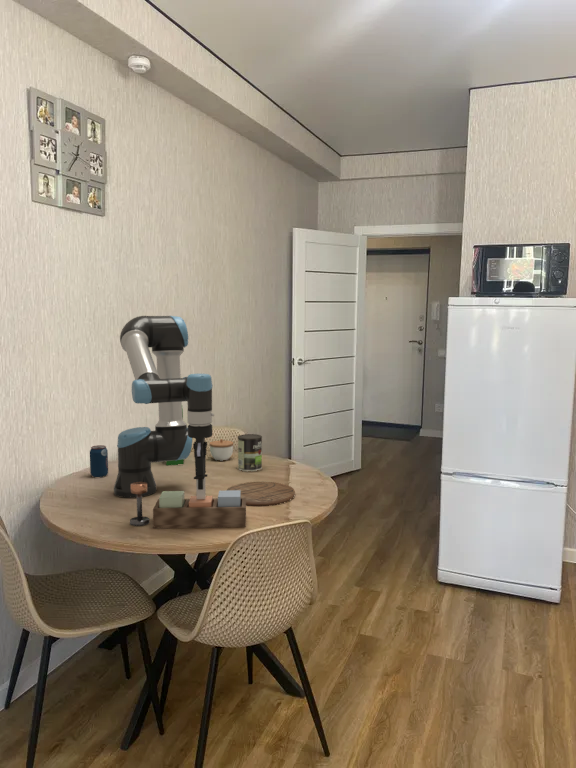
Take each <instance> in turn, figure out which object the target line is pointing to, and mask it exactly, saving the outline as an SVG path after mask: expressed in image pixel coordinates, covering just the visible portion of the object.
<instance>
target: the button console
mask: <svg viewBox="0 0 576 768" xmlns="http://www.w3.org/2000/svg"><path fill="white" fill-rule="evenodd" d="M189 501H190V498H185V503H184V506H183V507H181V508H159V498H158V499H157V501H156V503H155V504H154V506H153V509H152V520H153V521H152V522H153V523H152V525H153V527H152V528H153V529H191V528H202V529H203V528H246V525H247V505H246V498H241V504H240V507H218V497H214V498H213V507H189Z"/></svg>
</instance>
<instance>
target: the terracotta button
mask: <svg viewBox="0 0 576 768" xmlns="http://www.w3.org/2000/svg"><path fill="white" fill-rule="evenodd" d="M189 499H190V501H189V507H213V495H206V498H205V499H196V495H190V498H189Z"/></svg>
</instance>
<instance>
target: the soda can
mask: <svg viewBox="0 0 576 768" xmlns="http://www.w3.org/2000/svg"><path fill="white" fill-rule="evenodd" d="M108 453H109V452H108V448H107V446H106V445H92V446H90V450H89V473H90V475H91V477H92V476H93V477H92V478H95V477H100V478H104V477H103V476H105V477H107V476H108V474H109V454H108ZM106 475H107V476H106Z"/></svg>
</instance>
